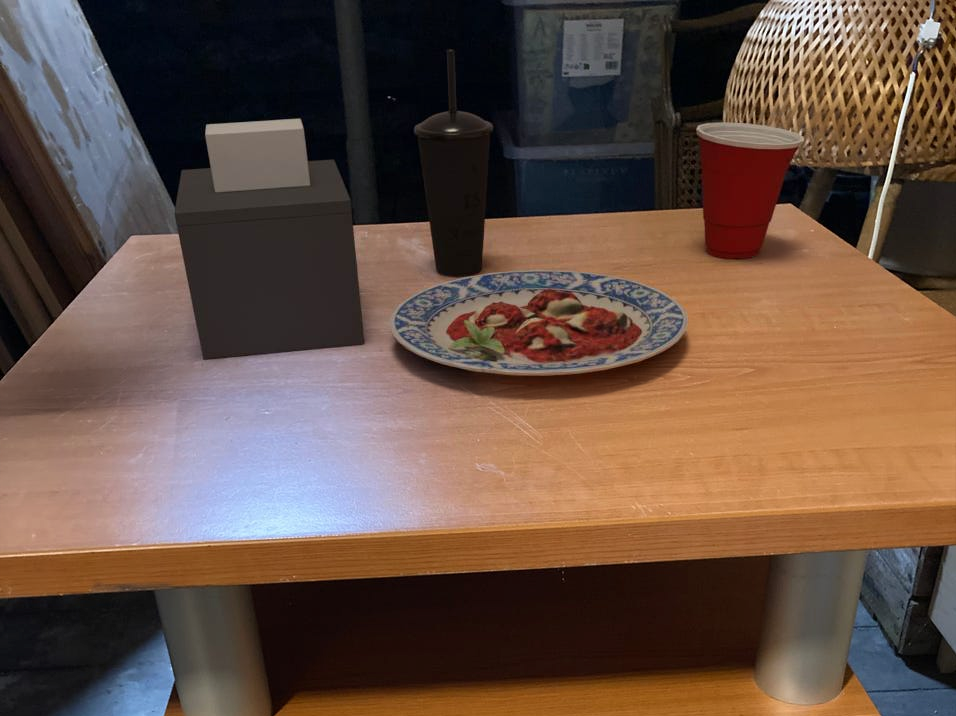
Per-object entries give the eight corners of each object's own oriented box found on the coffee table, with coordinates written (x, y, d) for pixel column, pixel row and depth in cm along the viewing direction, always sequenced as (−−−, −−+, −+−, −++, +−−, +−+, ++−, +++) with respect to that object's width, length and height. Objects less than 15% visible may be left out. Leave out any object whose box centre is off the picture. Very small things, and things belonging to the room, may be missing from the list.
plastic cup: (795, 266, 103) (816, 138, 96) (689, 267, 103) (702, 140, 96) (777, 237, 111) (794, 117, 104) (679, 237, 112) (690, 119, 105)
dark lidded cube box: (203, 359, 86) (174, 213, 79) (206, 301, 99) (181, 169, 91) (364, 344, 88) (350, 199, 81) (347, 288, 101) (334, 159, 93)
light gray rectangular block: (215, 193, 84) (205, 134, 81) (215, 181, 87) (205, 124, 85) (310, 186, 85) (303, 127, 82) (307, 174, 88) (300, 118, 86)
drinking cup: (407, 271, 105) (392, 52, 93) (457, 254, 109) (449, 43, 97) (459, 286, 100) (451, 57, 88) (510, 267, 105) (508, 48, 93)
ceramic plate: (589, 277, 101) (590, 247, 100) (747, 360, 83) (752, 325, 81) (350, 320, 93) (347, 288, 91) (466, 423, 74) (465, 385, 72)
